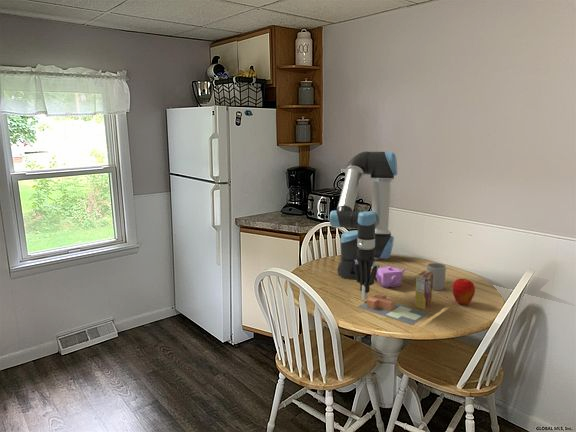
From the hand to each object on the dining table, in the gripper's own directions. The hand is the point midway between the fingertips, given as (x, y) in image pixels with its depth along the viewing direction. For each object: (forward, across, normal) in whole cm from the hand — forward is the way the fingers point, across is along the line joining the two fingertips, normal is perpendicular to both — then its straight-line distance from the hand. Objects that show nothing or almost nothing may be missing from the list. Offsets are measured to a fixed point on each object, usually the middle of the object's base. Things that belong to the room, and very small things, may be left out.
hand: (364, 298), depth 198 cm
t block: (+1, +9, 0) cm, 9 cm away
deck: (+2, +14, 0) cm, 14 cm away
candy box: (+3, +21, +14) cm, 26 cm away
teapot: (+3, -3, +26) cm, 26 cm away
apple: (+3, +32, +29) cm, 43 cm away
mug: (+2, +13, +41) cm, 43 cm away
